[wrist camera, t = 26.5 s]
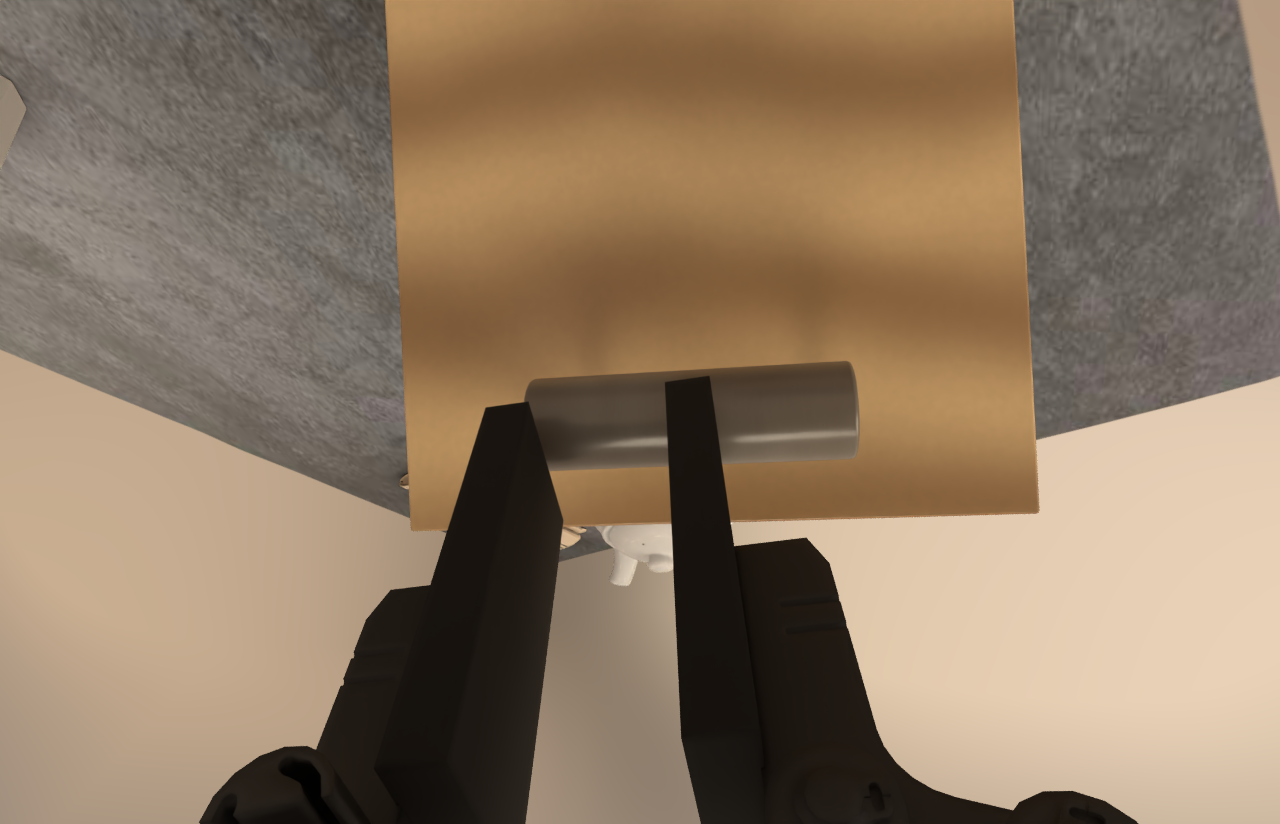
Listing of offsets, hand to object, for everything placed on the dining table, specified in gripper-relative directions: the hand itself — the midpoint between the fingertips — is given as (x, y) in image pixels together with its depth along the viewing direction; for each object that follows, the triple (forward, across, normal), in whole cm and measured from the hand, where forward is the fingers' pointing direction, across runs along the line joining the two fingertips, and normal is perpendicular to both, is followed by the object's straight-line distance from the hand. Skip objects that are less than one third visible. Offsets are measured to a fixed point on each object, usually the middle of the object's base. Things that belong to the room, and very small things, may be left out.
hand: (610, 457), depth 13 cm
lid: (+9, +2, +4) cm, 10 cm away
